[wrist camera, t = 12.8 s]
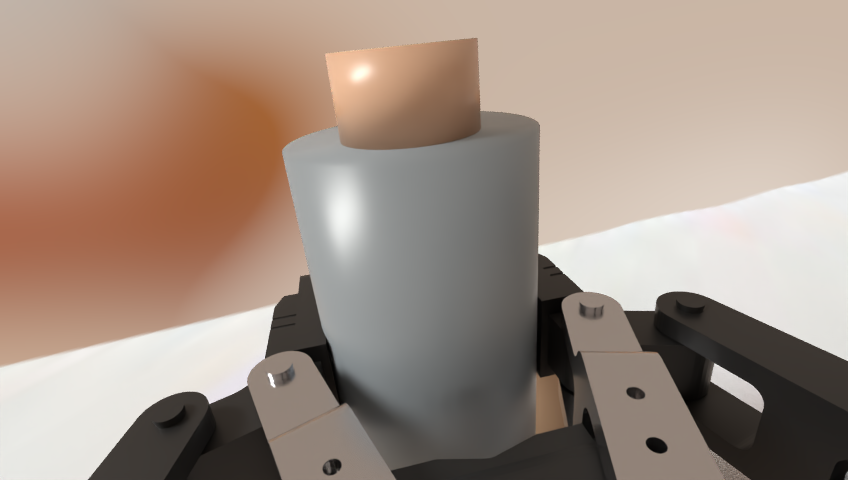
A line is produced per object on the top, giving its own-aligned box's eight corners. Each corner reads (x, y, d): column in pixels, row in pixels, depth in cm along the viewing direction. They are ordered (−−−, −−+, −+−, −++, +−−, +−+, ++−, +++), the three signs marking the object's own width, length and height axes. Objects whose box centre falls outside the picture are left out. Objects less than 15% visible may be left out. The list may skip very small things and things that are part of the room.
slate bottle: (499, 439, 16) (485, 36, 11) (565, 586, 12) (601, 26, 6) (364, 472, 16) (276, 58, 10) (381, 643, 11) (236, 63, 6)
